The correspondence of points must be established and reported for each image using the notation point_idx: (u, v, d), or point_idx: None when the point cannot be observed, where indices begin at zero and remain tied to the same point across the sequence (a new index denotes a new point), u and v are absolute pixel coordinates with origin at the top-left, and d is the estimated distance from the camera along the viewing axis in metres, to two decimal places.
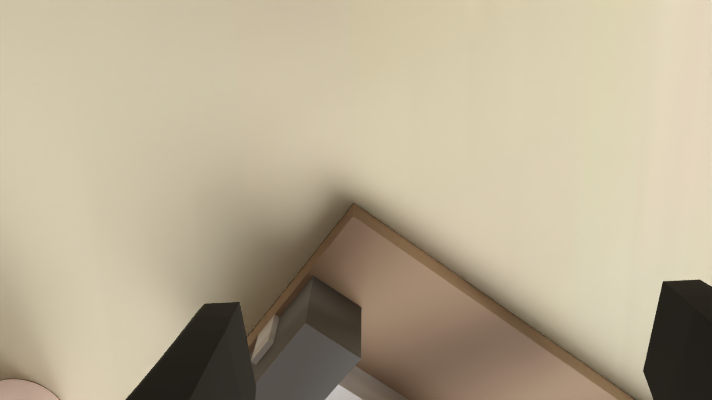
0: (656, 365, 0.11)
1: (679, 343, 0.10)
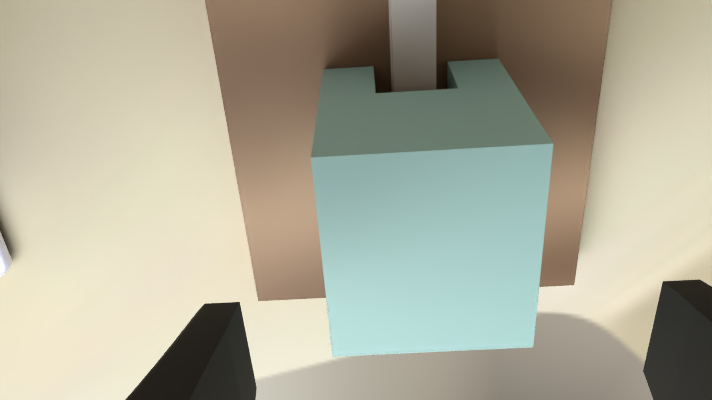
0: (656, 365, 0.11)
1: (679, 343, 0.10)
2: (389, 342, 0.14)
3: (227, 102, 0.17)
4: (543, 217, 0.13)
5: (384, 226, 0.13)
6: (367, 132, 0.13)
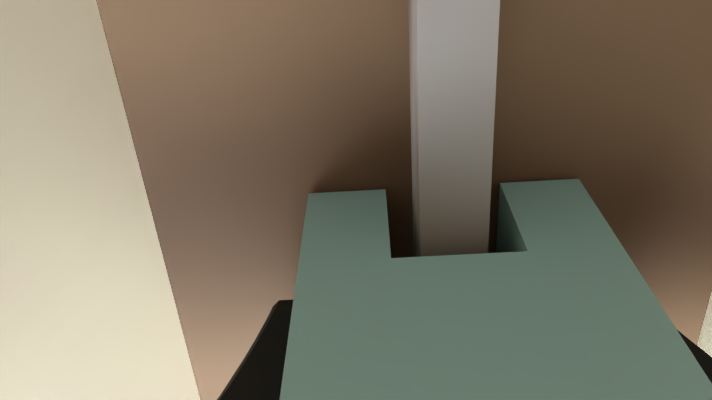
0: None
1: None
2: None
3: (164, 237, 0.11)
4: None
5: None
6: (381, 373, 0.07)
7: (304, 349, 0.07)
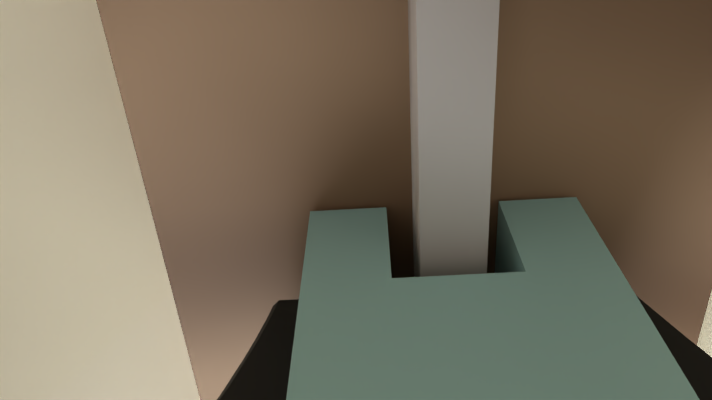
0: None
1: None
2: None
3: None
4: None
5: None
6: (382, 396, 0.07)
7: (307, 371, 0.08)
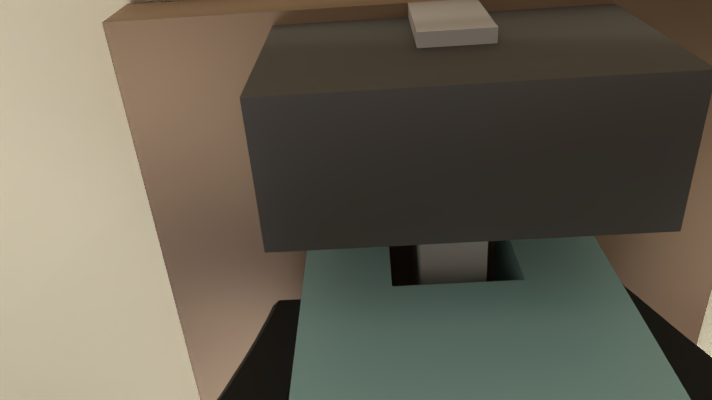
0: None
1: None
2: None
3: None
4: None
5: None
6: None
7: (308, 380, 0.08)
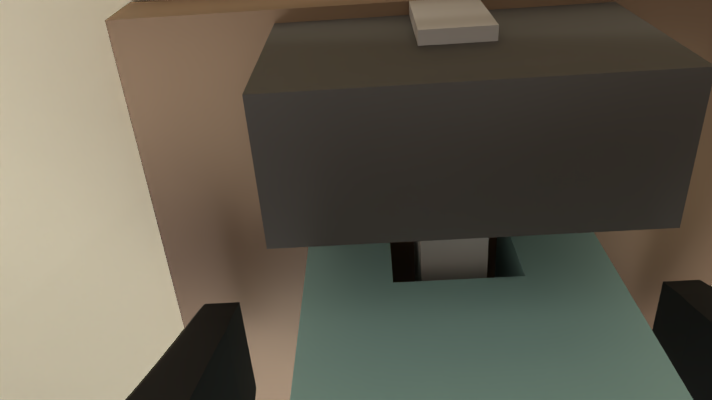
0: None
1: (679, 343, 0.10)
2: None
3: None
4: None
5: None
6: (383, 399, 0.07)
7: (310, 375, 0.08)
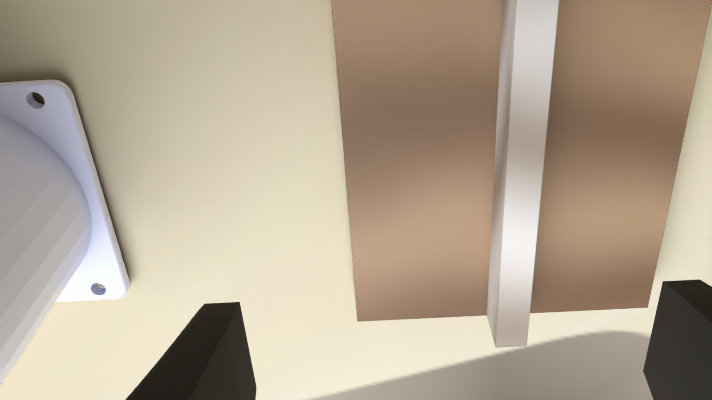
0: (656, 365, 0.11)
1: (679, 343, 0.10)
2: None
3: (347, 146, 0.19)
4: None
5: None
6: None
7: None
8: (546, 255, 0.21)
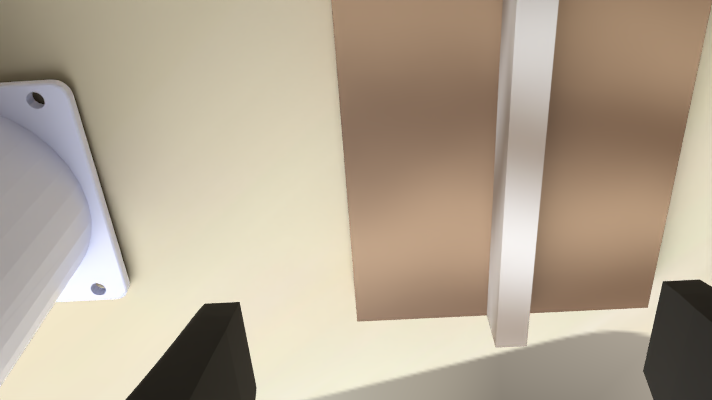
0: (656, 365, 0.11)
1: (679, 343, 0.10)
2: None
3: (347, 146, 0.19)
4: None
5: None
6: None
7: None
8: (546, 255, 0.21)
